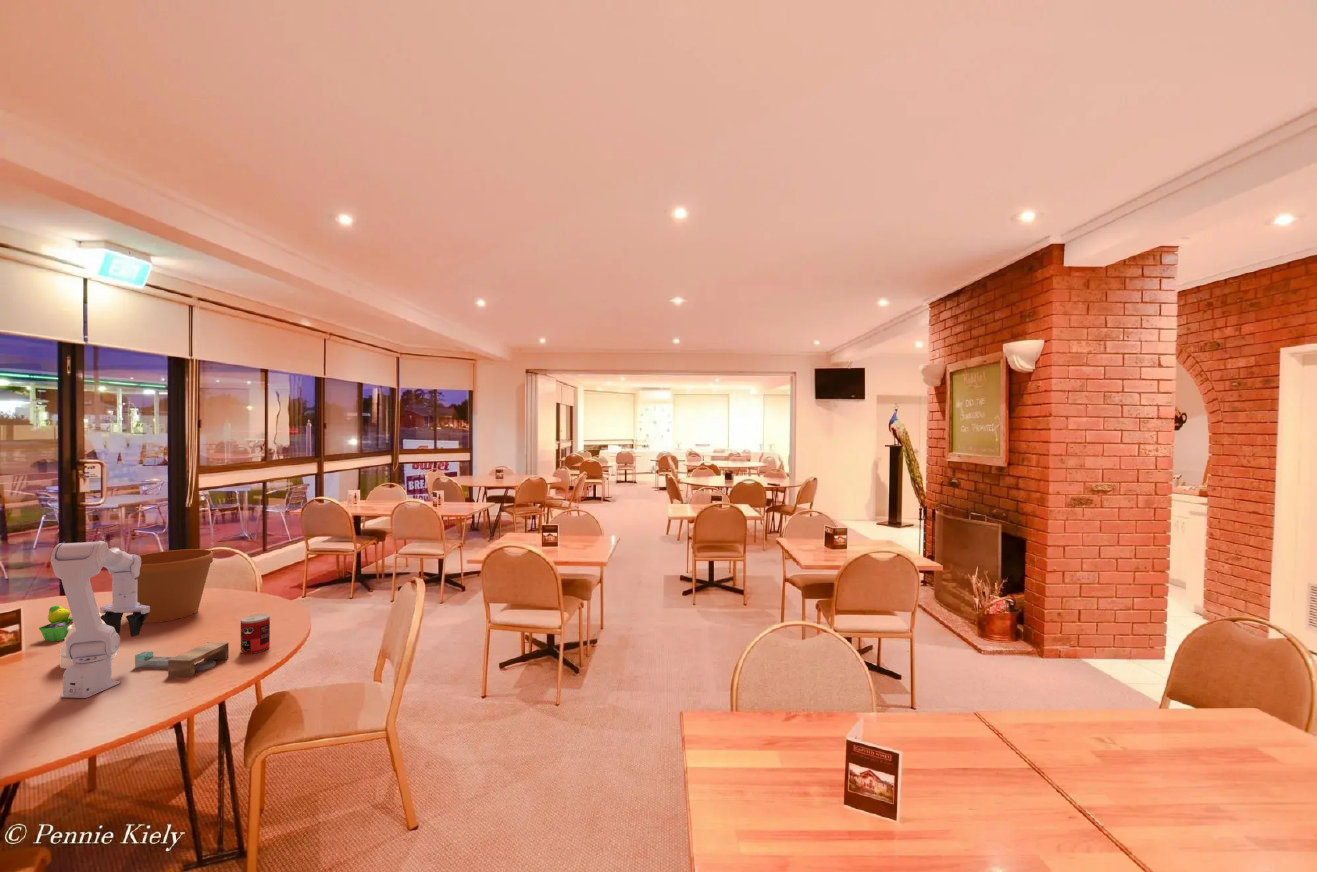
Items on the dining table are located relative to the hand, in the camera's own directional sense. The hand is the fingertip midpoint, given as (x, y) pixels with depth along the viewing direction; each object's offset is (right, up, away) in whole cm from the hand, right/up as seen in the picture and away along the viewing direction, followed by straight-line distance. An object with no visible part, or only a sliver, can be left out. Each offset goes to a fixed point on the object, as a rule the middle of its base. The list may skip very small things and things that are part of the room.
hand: (125, 635), depth 175 cm
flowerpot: (-28, -9, +47) cm, 56 cm away
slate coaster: (+26, -10, -1) cm, 28 cm away
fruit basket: (-45, -9, +24) cm, 52 cm away
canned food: (+32, -10, +13) cm, 36 cm away
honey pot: (-15, -10, +4) cm, 19 cm away
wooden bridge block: (+24, -10, -1) cm, 26 cm away
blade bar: (+12, -10, -1) cm, 16 cm away
